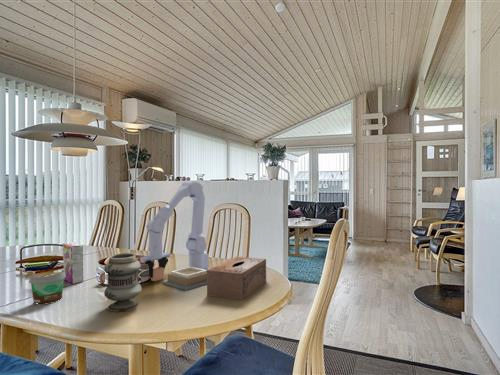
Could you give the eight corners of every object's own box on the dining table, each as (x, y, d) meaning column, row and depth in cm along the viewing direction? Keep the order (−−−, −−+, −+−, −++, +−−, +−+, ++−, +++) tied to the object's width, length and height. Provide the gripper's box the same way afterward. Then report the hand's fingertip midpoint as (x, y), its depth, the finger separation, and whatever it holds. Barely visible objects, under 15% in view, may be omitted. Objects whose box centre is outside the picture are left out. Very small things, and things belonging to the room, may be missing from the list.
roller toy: (103, 281, 146) (102, 268, 146) (117, 281, 146) (117, 268, 146) (98, 284, 142) (98, 271, 142) (113, 284, 142) (113, 271, 142)
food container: (37, 308, 115) (37, 279, 115) (29, 305, 118) (28, 277, 118) (72, 297, 125) (72, 271, 125) (63, 295, 129) (63, 269, 129)
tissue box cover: (241, 301, 120) (241, 273, 120) (207, 296, 126) (206, 270, 126) (266, 281, 144) (265, 258, 144) (236, 278, 150) (236, 256, 150)
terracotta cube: (157, 276, 153) (157, 266, 153) (164, 278, 150) (163, 267, 150) (148, 279, 149) (148, 268, 149) (154, 281, 146) (154, 269, 146)
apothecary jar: (104, 315, 107) (103, 260, 107) (104, 303, 118) (103, 253, 118) (143, 309, 112) (142, 256, 112) (140, 298, 123) (139, 250, 123)
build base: (191, 275, 155) (191, 264, 155) (215, 281, 144) (215, 270, 144) (162, 283, 143) (162, 271, 143) (186, 290, 132) (186, 278, 132)
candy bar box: (62, 279, 150) (62, 243, 150) (74, 277, 154) (74, 242, 154) (71, 284, 143) (71, 246, 142) (83, 282, 146) (83, 244, 146)
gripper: (164, 242, 158) (164, 271, 158) (136, 247, 147) (136, 277, 147) (173, 244, 153) (173, 273, 153) (145, 249, 142) (145, 280, 142)
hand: (156, 275), depth 150 cm, fingers closed on terracotta cube, 5 cm apart
